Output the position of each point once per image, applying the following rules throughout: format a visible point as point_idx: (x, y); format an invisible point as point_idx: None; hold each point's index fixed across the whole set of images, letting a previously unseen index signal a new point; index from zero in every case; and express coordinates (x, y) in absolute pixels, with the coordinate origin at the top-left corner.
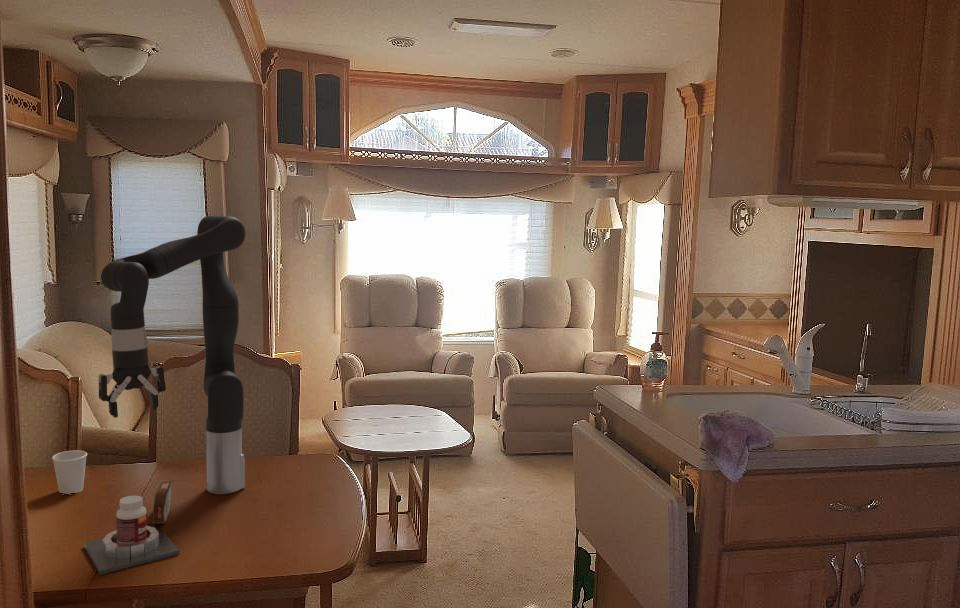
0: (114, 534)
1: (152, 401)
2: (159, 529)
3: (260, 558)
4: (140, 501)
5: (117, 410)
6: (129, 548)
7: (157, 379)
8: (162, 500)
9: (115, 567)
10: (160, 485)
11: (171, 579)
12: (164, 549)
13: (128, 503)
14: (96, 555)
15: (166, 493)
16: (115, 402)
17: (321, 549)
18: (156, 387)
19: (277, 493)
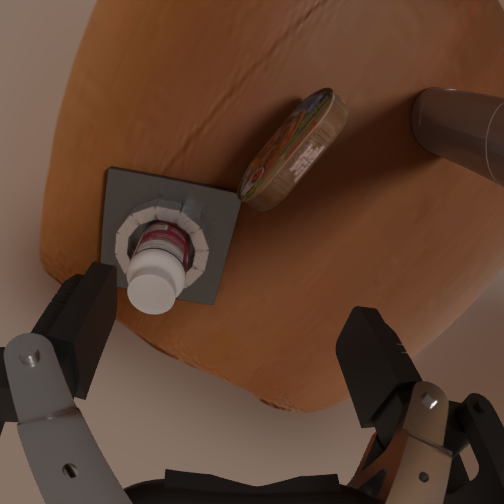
0: (141, 223)
1: (353, 390)
2: (234, 211)
3: (279, 367)
4: (164, 311)
5: (102, 349)
6: None
7: (474, 490)
8: (261, 208)
9: (120, 287)
10: (299, 150)
11: (172, 346)
12: (198, 288)
13: (139, 309)
14: (108, 233)
15: (281, 201)
16: (75, 395)
17: (335, 384)
18: (444, 437)
19: (457, 215)
